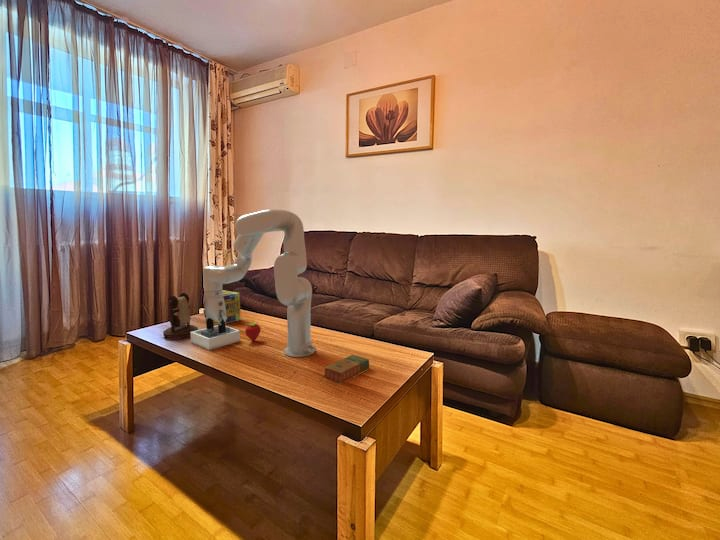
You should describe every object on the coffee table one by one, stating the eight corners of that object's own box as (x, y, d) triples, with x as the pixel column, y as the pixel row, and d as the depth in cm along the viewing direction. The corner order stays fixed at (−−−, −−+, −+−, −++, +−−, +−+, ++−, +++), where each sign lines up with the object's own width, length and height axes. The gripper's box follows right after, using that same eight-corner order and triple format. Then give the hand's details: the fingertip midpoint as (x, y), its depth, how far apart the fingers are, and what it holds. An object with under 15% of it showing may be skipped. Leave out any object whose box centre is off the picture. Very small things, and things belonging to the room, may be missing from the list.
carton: (324, 378, 122) (324, 366, 122) (352, 363, 135) (352, 353, 134) (342, 385, 117) (342, 373, 117) (369, 369, 130) (369, 358, 129)
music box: (182, 341, 156) (179, 298, 153) (156, 338, 160) (152, 296, 157) (205, 332, 170) (202, 292, 167) (180, 329, 174) (177, 290, 171)
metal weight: (230, 337, 159) (229, 327, 158) (211, 344, 150) (210, 333, 150) (220, 335, 162) (220, 325, 161) (201, 341, 154) (201, 330, 153)
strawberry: (242, 342, 156) (241, 321, 155) (254, 337, 162) (254, 317, 161) (251, 345, 153) (250, 323, 152) (264, 340, 160) (263, 319, 158)
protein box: (224, 324, 182) (223, 296, 180) (207, 320, 191) (205, 292, 188) (241, 320, 191) (240, 292, 189) (223, 315, 199) (222, 289, 197)
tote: (240, 341, 158) (239, 330, 157) (209, 350, 146) (208, 339, 145) (221, 334, 167) (221, 324, 166) (191, 342, 155) (190, 332, 154)
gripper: (232, 294, 151) (234, 332, 153) (211, 290, 161) (213, 325, 164) (216, 297, 145) (219, 336, 147) (195, 292, 155) (198, 329, 158)
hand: (216, 330), depth 156 cm, fingers open, 9 cm apart
